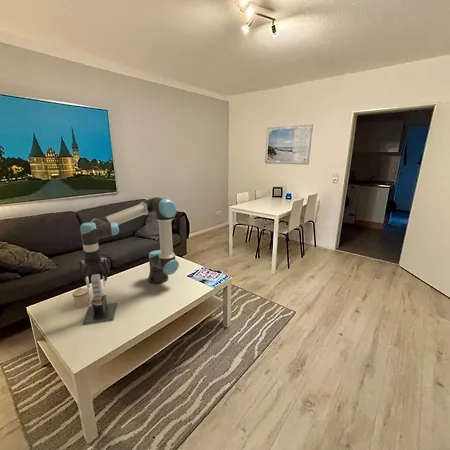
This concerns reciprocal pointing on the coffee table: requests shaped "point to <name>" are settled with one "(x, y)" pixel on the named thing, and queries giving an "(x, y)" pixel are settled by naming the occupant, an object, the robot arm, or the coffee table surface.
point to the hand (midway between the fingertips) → (96, 286)
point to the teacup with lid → (81, 297)
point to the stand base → (100, 312)
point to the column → (97, 288)
